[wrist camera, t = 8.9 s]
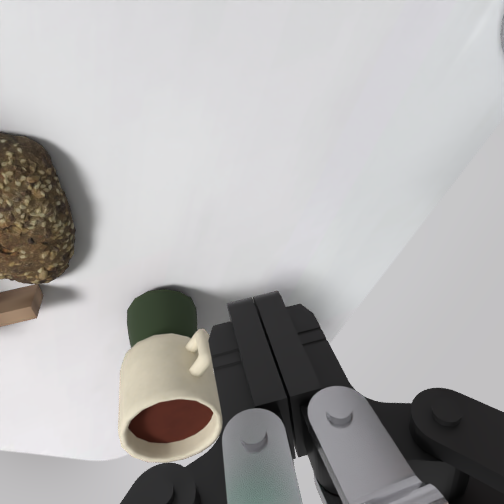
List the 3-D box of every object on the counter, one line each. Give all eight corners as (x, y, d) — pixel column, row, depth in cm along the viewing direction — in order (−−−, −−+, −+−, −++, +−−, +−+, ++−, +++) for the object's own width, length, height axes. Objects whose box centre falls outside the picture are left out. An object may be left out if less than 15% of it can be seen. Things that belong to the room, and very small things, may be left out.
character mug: (166, 361, 43) (178, 486, 32) (98, 340, 40) (86, 472, 29) (225, 281, 39) (259, 390, 29) (156, 251, 36) (166, 362, 25)
